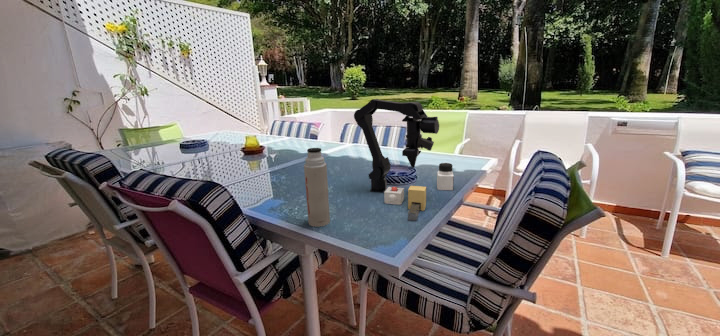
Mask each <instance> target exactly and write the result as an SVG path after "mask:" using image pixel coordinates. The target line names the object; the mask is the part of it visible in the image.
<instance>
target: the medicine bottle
mask: <svg viewBox="0 0 720 336" xmlns="http://www.w3.org/2000/svg"><path fill="white" fill-rule="evenodd" d="M454 178H455V175H454V172H453V164H452V163H450V162H441V163H439V165H438V171H437V172H436V189H437V190H438V191H453V190H454Z"/></svg>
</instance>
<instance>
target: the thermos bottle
mask: <svg viewBox="0 0 720 336" xmlns="http://www.w3.org/2000/svg"><path fill="white" fill-rule="evenodd" d="M304 159H305V160H304V162H305V164H304V165H303V171H304V185H305V196H306V206H307V207H306V208H307V221H308V224H309V226H311V227H314V226H315V227H318V228H320V226H321V227H324V226H325V227H326V226H327V225H329V224H330V222H331V219H330V217H331V216H330V214H331V213H330V203H329V201H330V200H329V184H328V183H329V182H328V181H329V180H328V168H327V165H328V164H327V162H325V157H324V156H322V148H321V147H311V148H308V149H307V157H306V158H304Z"/></svg>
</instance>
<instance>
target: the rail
mask: <svg viewBox="0 0 720 336" xmlns="http://www.w3.org/2000/svg"><path fill="white" fill-rule="evenodd" d="M420 212H421V203H417V202H413V203H412V205H411V207H410V209H408V212H407V220H408V221H414V222H417V221H418V217H419V214H420Z"/></svg>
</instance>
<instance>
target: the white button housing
mask: <svg viewBox="0 0 720 336" xmlns="http://www.w3.org/2000/svg"><path fill="white" fill-rule="evenodd" d="M392 187H393V186H387V188H386V190H385V191H384V192H383V193H384V194H383V196H384V204H387V205H389V204H391V205H402V204H403V201H404V200H405V187H397V191H392Z"/></svg>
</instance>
